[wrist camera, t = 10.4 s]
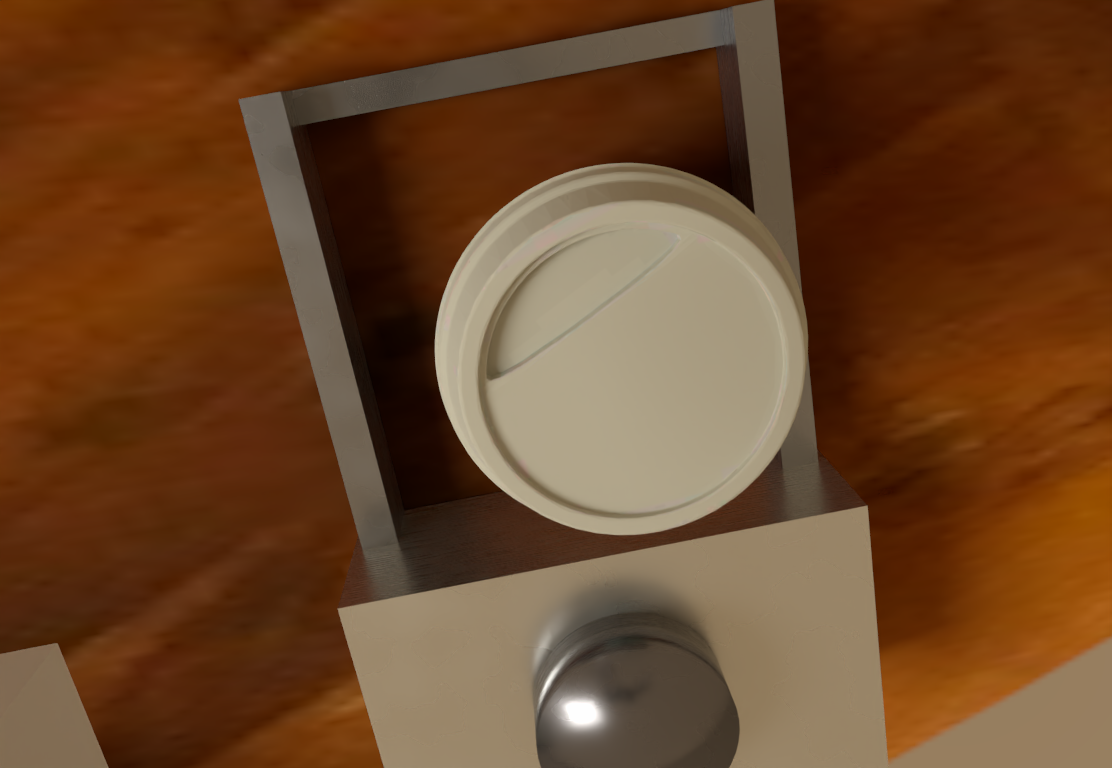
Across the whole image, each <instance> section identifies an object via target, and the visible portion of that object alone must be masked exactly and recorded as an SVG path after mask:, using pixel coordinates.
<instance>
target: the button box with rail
mask: <svg viewBox="0 0 1112 768" xmlns="http://www.w3.org/2000/svg"><path fill="white" fill-rule="evenodd" d="M711 47H716V50H717V59H718V67H719V76H720V84H721V93H722V101H723V110H724V119H725V127H726V136H727V144H728V153H729V162H730V170H731V179H732V187H733V196H734V198H736V199H737V200H738V201H740V202H741V203H742V204H743V205H745V206H746V207H747V208H748V209H749V210H750V211H751V212H752V213H753V214H754V215H755V216H756V217H757V218H758V219H759V220H760V221H761V222H762V223H763V224H764V226H765V227H766V228H767V229H768V231H769V232H770V233H771V234H772V236H773V237H774V239H775V240H776V242H777V243H778V245H779V246H780V248H781V250H782V252H783V253H784V255H785V257H786V259H787V261H788V263H789V265H790V267H791V269H792V271H793V273H794V275H795V278H796V281H797V283H798V286H799V289H800V292H801V295H802V287H801V277H800V267H799V256H798V246H797V236H796V225H795V215H794V204H793V194H792V184H791V173H790V163H789V152H788V142H787V132H786V121H785V111H784V101H783V90H782V80H781V69H780V59H779V49H778V38H777V28H776V17H775V7H774V0H764V1H759V2H753V3H748V4H743V5H737V6H732V7H729V8H725V9H722V10H718V11H712V12H707V13H702V14H697V15H691V16H686V17H681V18H675V19H670V20H665V21H659V22H654V23H649V24H643V25H638V26H633V27H628V28H622V29H617V30H612V31H606V32H601V33H596V34H590V35H585V36H580V37H575V38H569V39H564V40H559V41H553V42H548V43H543V44H537V45H532V46H527V47H521V48H516V49H511V50H506V51H500V52H495V53H490V54H484V55H479V56H474V57H468V58H463V59H458V60H452V61H447V62H442V63H437V64H431V65H426V66H421V67H415V68H410V69H405V70H399V71H394V72H389V73H384V74H378V75H373V76H368V77H362V78H357V79H352V80H346V81H341V82H336V83H330V84H325V85H320V86H315V87H309V88H304V89H299V90H293V91H282V92H276V93H270V94H265V95H260V96H255V97H249V98H244V99H239V103H240V107H241V111H242V114H243V118H244V122H245V125H246V129H247V132H248V136H249V140H250V143H251V147H252V151H253V154H254V158H255V161H256V165H257V169H258V172H259V176H260V180H261V183H262V187H263V191H264V194H265V198H266V201H267V205H268V209H269V212H270V216H271V220H272V223H273V227H274V230H275V234H276V238H277V241H278V245H279V249H280V252H281V256H282V259H283V263H284V267H285V270H286V274H287V278H288V281H289V285H290V288H291V292H292V296H293V299H294V303H295V307H296V310H297V314H298V318H299V321H300V325H301V328H302V332H303V336H304V339H305V343H306V347H307V350H308V354H309V357H310V361H311V365H312V368H313V372H314V376H315V379H316V383H317V386H318V390H319V394H320V397H321V401H322V405H323V408H324V412H325V416H326V419H327V423H328V426H329V430H330V434H331V437H332V441H333V445H334V448H335V452H336V455H337V459H338V463H339V466H340V470H341V474H342V477H343V481H344V484H345V488H346V492H347V495H348V499H349V503H350V506H351V510H352V513H353V517H354V521H355V524H356V528H357V532H358V538H357V542H356V545H355V549H354V553H353V556H352V560H351V563H350V567H349V570H348V574H347V577H346V581H345V584H344V588H343V592H342V595H341V599H340V602H339V606H338V611H339V615H340V618H341V622H342V625H343V629H344V632H345V635H346V639H347V642H348V646H349V649H350V653H351V656H352V659H353V663H354V666H355V670H356V673H357V677H358V680H359V683H360V687H361V690H362V694H363V697H364V701H365V704H366V707H367V711H368V714H369V718H370V721H371V725H372V728H373V731H374V735H375V738H376V742H377V745H378V749H379V752H380V755H381V759H382V762H383V766H384V768H888V757H887V744H886V731H885V719H884V706H883V693H882V681H881V668H880V655H879V643H878V630H877V618H876V605H875V592H874V580H873V567H872V554H871V542H870V529H869V516H868V505H867V504H866V503H865V502H864V501H863V500H862V499H861V498H860V496H859V495H858V494H857V493H856V492H855V491H854V490H853V489H852V487H851V486H850V485H849V484H848V483H847V482H846V481H845V480H844V478H843V477H842V476H841V475H840V474H839V473H838V472H837V471H836V470H835V468H834V467H833V466H832V465H831V464H830V463H829V462H828V461H827V459H826V458H825V457H824V456H823V455H822V454H821V453H820V452H819V450H818V449H817V443H816V433H815V422H814V412H813V402H812V391H811V381H810V371H809V360H808V357H807V366H806V372H805V380H804V386H803V392H802V397H801V401H800V405H799V408H798V411H797V414H796V417H795V420H794V422H793V424H792V427H791V429H790V431H789V433H788V435H787V437H786V439H785V441H784V442H783V444H782V446H781V448H780V449H779V451H778V452H777V454H776V455H775V457H774V458H773V460H772V461H771V462H770V463H769V465H768V466H767V467H766V468H765V470H764V471H763V472H762V473H761V474H760V476H759V477H758V478H757V479H755V480H754V481H753V482H752V483H751V484H750V485H749V486H748V487H747V488H746V489H745V490H744V491H743V492H741V493H740V494H739V495H738V496H736V497H735V498H734V499H732V500H731V501H729V502H728V503H726V504H725V505H723V506H722V507H720V508H719V509H717V510H716V511H714V512H712V513H710V514H708V515H706V516H704V517H702V518H700V519H697V520H695V521H692V522H690V523H687V524H685V525H682V526H679V527H675V528H671V529H668V530H664V531H660V532H654V533H648V534H638V535H610V534H599V533H593V532H588V531H584V530H579V529H575V528H572V527H569V526H566V525H563V524H560V523H558V522H556V521H553V520H551V519H549V518H546V517H544V516H542V515H541V514H539V513H537V512H536V511H534V510H532V509H531V508H529V507H527V506H526V505H524V504H522V503H520V502H519V501H517V500H515V499H514V498H513V497H511V496H510V495H509V494H507V493H506V492H504V491H501V492H496V493H491V494H486V495H481V496H476V497H470V498H465V499H460V500H455V501H450V502H444V503H439V504H434V505H429V506H424V507H419V508H413V509H408V510H404V506H403V502H402V498H401V494H400V490H399V486H398V482H397V479H396V475H395V471H394V467H393V463H392V459H391V455H390V451H389V447H388V443H387V439H386V435H385V432H384V428H383V424H382V420H381V416H380V412H379V408H378V404H377V400H376V396H375V392H374V388H373V385H372V381H371V377H370V373H369V369H368V365H367V361H366V357H365V353H364V349H363V345H362V342H361V338H360V334H359V330H358V326H357V322H356V318H355V314H354V310H353V306H352V302H351V298H350V295H349V291H348V287H347V283H346V279H345V275H344V271H343V267H342V263H341V259H340V255H339V251H338V248H337V244H336V240H335V236H334V232H333V228H332V224H331V220H330V216H329V212H328V208H327V204H326V201H325V197H324V193H323V189H322V185H321V181H320V177H319V173H318V169H317V165H316V161H315V157H314V154H313V150H312V146H311V142H310V138H309V134H308V130H307V126H306V124H309V123H314V122H320V121H325V120H330V119H336V118H341V117H346V116H351V115H357V114H362V113H367V112H373V111H378V110H383V109H389V108H394V107H399V106H404V105H410V104H415V103H420V102H426V101H431V100H436V99H441V98H447V97H452V96H457V95H463V94H468V93H473V92H479V91H484V90H489V89H494V88H500V87H505V86H510V85H516V84H521V83H526V82H531V81H537V80H542V79H547V78H553V77H558V76H563V75H569V74H574V73H579V72H584V71H590V70H595V69H600V68H606V67H611V66H616V65H621V64H627V63H632V62H637V61H643V60H648V59H653V58H659V57H664V56H669V55H674V54H680V53H685V52H690V51H696V50H701V49H706V48H711ZM802 299H803V298H802Z"/></svg>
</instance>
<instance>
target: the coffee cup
mask: <svg viewBox="0 0 1112 768" xmlns="http://www.w3.org/2000/svg"><path fill="white" fill-rule="evenodd" d="M807 357H808V329H807V319H806V313H805V307H804V303H803V299H802V295H801V292H800V289H799V286H798V283H797V281H796V278H795V275H794V273H793V271H792V269H791V267H790V265H789V263H788V261H787V259H786V257H785V255H784V253H783V252H782V250H781V248H780V246H779V245H778V243H777V242H776V240H775V239H774V237H773V236H772V234H771V233H770V232H769V231H768V229H767V228H766V227H765V226H764V224H763V223H762V222H761V221H760V220H759V219H758V218H757V217H756V216H755V215H754V214H753V213H752V212H751V211H750V210H749V209H748V208H747V207H746V206H745V205H743V204H742V203H741V202H740V201H738V200H737V199H736V198H734V197H733V196H732V195H730V194H729V193H727V192H726V191H724V190H722V189H721V188H719V187H717V186H716V185H714V184H712V183H710V182H708V181H706V180H704V179H702V178H699V177H697V176H694V175H692V174H689V173H686V172H683V171H680V170H676V169H672V168H668V167H663V166H658V165H651V164H641V163H613V164H603V165H596V166H590V167H586V168H581V169H577V170H574V171H570V172H567V173H564V174H561V175H559V176H556V177H554V178H551V179H549V180H547V181H545V182H542V183H540V184H538V185H537V186H535V187H533V188H531V189H529V190H528V191H526V192H524V193H523V194H521V195H520V196H518V197H517V198H515V199H514V200H512V201H511V202H510V203H508V204H507V205H506V206H505V207H503V208H502V209H501V210H500V211H499V212H498V213H496V214H495V215H494V216H493V217H492V218H491V219H490V220H489V221H488V222H487V223H486V224H485V225H484V226H483V227H482V229H481V230H480V231H479V232H478V233H477V234H476V236H475V237H474V238H473V240H472V241H471V242H470V244H469V245H468V246H467V248H466V249H465V251H464V252H463V254H462V256H461V257H460V259H459V261H458V263H457V264H456V266H455V268H454V270H453V272H452V274H451V277H450V279H449V281H448V284H447V286H446V289H445V292H444V295H443V298H442V301H441V305H440V309H439V314H438V319H437V325H436V334H435V364H436V373H437V379H438V385H439V389H440V393H441V397H442V400H443V403H444V406H445V409H446V411H447V414H448V416H449V419H450V421H451V423H452V425H453V428H454V430H455V432H456V434H457V436H458V438H459V439H460V441H461V443H462V444H463V446H464V448H465V449H466V451H467V452H468V454H469V455H470V457H471V458H472V459H473V461H474V462H475V463H476V464H477V466H478V467H479V468H480V469H481V470H482V471H483V472H484V474H485V475H486V476H487V477H488V478H489V479H490V480H492V481H493V482H494V483H495V484H496V485H497V486H498V487H499V488H501V489H502V490H503V491H504V492H506V493H507V494H509V495H510V496H511V497H513V498H514V499H515V500H517V501H519V502H520V503H522V504H524V505H526V506H527V507H529V508H531V509H532V510H534V511H536V512H537V513H539V514H541V515H542V516H544V517H546V518H549V519H551V520H553V521H556V522H558V523H560V524H563V525H566V526H569V527H572V528H575V529H579V530H584V531H588V532H593V533H599V534H610V535H638V534H648V533H654V532H660V531H664V530H668V529H671V528H675V527H679V526H682V525H685V524H687V523H690V522H692V521H695V520H697V519H700V518H702V517H704V516H706V515H708V514H710V513H712V512H714V511H716V510H717V509H719V508H720V507H722V506H723V505H725V504H726V503H728V502H729V501H731V500H732V499H734V498H735V497H736V496H738V495H739V494H740V493H741V492H743V491H744V490H745V489H746V488H747V487H748V486H749V485H750V484H751V483H752V482H753V481H754V480H755V479H757V478H758V477H759V476H760V474H761V473H762V472H763V471H764V470H765V468H766V467H767V466H768V465H769V463H770V462H771V461H772V460H773V458H774V457H775V455H776V454H777V452H778V451H779V449H780V448H781V446H782V444H783V442H784V441H785V439H786V437H787V435H788V433H789V431H790V429H791V427H792V424H793V422H794V420H795V417H796V414H797V411H798V408H799V405H800V401H801V397H802V392H803V386H804V380H805V372H806V366H807Z"/></svg>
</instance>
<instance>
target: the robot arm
mask: <svg viewBox="0 0 1112 768" xmlns="http://www.w3.org/2000/svg"><path fill="white" fill-rule="evenodd" d="M0 768H108V765H107V763H106V760H105V758H104V756H103V753H102V751H101V748H100V746H99V743H98V741H97V739H96V736H95V734H94V731H93V729H92V726H91V724H90V722H89V719H88V717H87V714H86V712H85V709H84V707H83V705H82V702H81V700H80V697H79V695H78V692H77V690H76V687H75V685H74V683H73V680H72V678H71V675H70V673H69V670H68V668H67V666H66V663H65V661H64V658H63V656H62V653H61V651H60V649H59V646H58V644H57V643H55V644H50V645H45V646H39V647H34V648H29V649H24V650H19V651H14V652H9V653H4V654H0Z"/></svg>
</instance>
